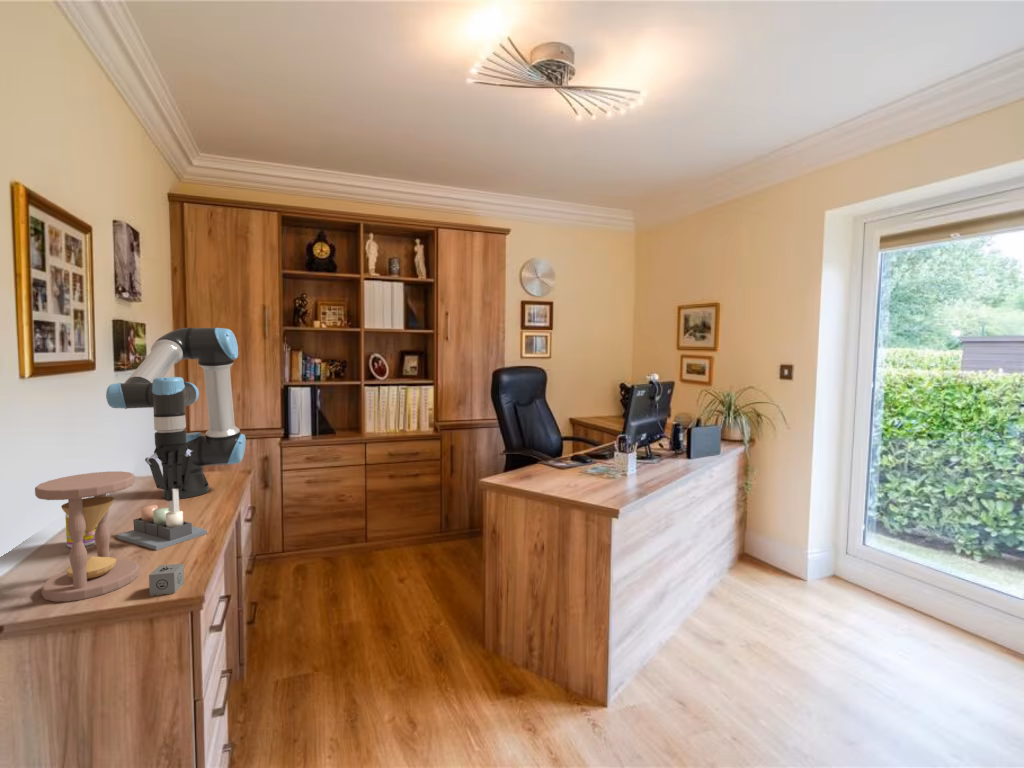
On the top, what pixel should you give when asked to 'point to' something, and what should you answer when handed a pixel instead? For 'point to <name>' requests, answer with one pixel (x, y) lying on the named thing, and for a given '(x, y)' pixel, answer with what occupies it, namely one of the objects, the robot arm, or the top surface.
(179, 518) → the cream button
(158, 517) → the pale green rounded piece
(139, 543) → the panel
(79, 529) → the hourglass
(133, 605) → the top surface
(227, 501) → the top surface
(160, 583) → the dice cube
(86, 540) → the supplement bottle
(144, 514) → the pink rounded piece
